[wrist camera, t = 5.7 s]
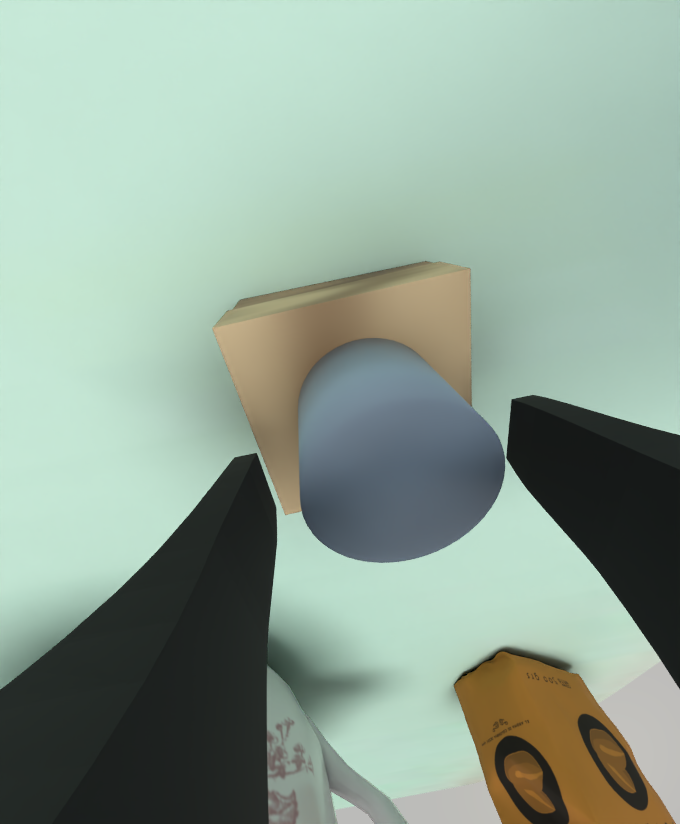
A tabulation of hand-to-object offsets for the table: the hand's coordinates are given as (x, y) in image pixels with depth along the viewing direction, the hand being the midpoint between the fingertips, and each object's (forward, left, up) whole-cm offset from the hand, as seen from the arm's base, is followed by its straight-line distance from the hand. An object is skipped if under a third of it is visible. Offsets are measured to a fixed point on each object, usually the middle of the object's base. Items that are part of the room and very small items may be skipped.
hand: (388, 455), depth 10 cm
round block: (0, 0, -3) cm, 3 cm away
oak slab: (0, 0, -5) cm, 5 cm away
